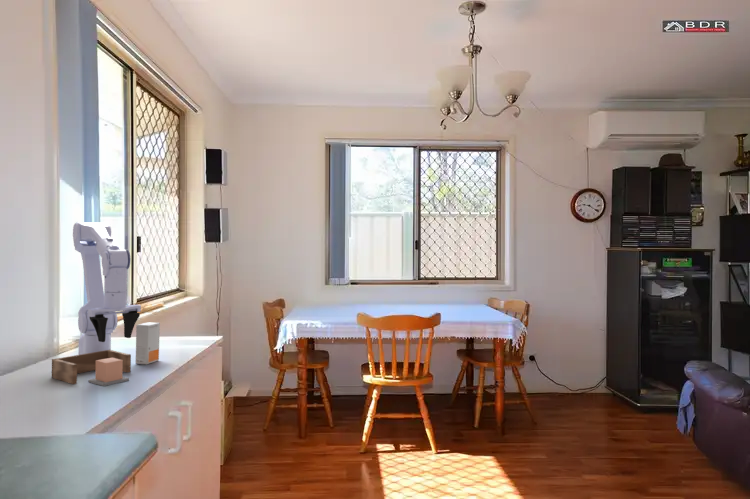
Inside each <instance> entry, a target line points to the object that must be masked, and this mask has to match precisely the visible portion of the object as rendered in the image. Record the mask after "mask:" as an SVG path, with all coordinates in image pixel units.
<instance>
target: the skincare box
mask: <svg viewBox="0 0 750 499" xmlns="http://www.w3.org/2000/svg"><path fill="white" fill-rule="evenodd" d="M135 325H136V329H135V330H136V332H135V333H136V336H135V364H137V365H150V364H151V363H155V362H158V360H159V361H160V333H161V332H160V330H161V329H160V327H161V324H160V322H154V321H153V322H150V321H149V322H143V323H140V324H135Z"/></svg>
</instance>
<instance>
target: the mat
mask: <svg viewBox="0 0 750 499" xmlns="http://www.w3.org/2000/svg"><path fill="white" fill-rule="evenodd" d="M129 381H130V378H129V377H125V376H122V379H119V380H114V381H109V382H103V381H100V380H96V379H95V377H94V378H91V379H90V378H89V379H88V383H90V384H93V385H96V386H97V385H98V386H101V387H106V386H110V385H115V384H119V383H120V384H121V383H123V382H124V383H125V382H129Z"/></svg>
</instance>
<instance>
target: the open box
mask: <svg viewBox="0 0 750 499" xmlns="http://www.w3.org/2000/svg"><path fill="white" fill-rule="evenodd" d="M131 357H132V354H130V353H126V352H121V351H117V350H113V349H111V350H104V351H98V352H92V353H86V354H80V355H78V354H76V355H75V354H74V355H70V356H69V355H68V356H63V357H58V358H52V359H51V378H52V379H55V380H58V381H62V382H65V383H68V384H71V385H74V384H75V385H76V384H78V374H82V373H87V372H91V371H96V360H101V359H107V358H116V359H120V360H123V369H122V373H123V372H124V373H127V374H128V373H131V369H132V365H131V363H132V362H131V361H132V360H131V359H132V358H131Z"/></svg>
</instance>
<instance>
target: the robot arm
mask: <svg viewBox="0 0 750 499" xmlns="http://www.w3.org/2000/svg"><path fill="white" fill-rule="evenodd" d="M72 239H73V246H74V250H75V252H76V251H77V252H78V253H80V256H81V260H82V266H83V268H82V269H83V275H84V284H85V293H86V300H87V301H86V303H85V304H83V305H82V306H81V307H80V308H79V310H78V315H77V316H78V319H77V326H78V330H79V332H80V333H81V335H80V337H79V339H78V354H77V355H80V354H86V353H92V352H98V351H104V350H112V345H111V344H112V334H113V333H114V331H115V330H116V329H117V327H118V315H119V314H122V319H123V336H124V338H127V339H130V338H132V334H133V330H134V328H135V325H136V323H137V321H138V319H140V312H141V311H142V305H141V304H129V305H127V303H128V302H127V299H128V298H127V296H128V293H127V292H128V291H127V290H128V289H127V288H128V287H127V286H128V283H127V282H128V270H129V268H131V253H130V250H129V249H128V248H124V249H123V248H121V246H120V245H119V243H118V242H117V241H116V239H115V238H114V237H112V227H111V224H109V223H108V222H89V221H88V222H83V221H75V222H74V224H73V227H72ZM100 257H101V259H100ZM100 260H101V261H100ZM101 267H102V269H101ZM103 276H104V277H103ZM103 278H104V280H103ZM103 281H104V284H103Z"/></svg>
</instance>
